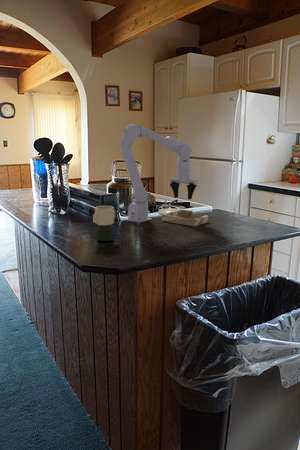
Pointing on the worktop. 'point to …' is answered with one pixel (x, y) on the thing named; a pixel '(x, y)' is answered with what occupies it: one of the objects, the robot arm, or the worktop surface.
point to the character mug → (104, 222)
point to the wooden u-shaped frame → (183, 219)
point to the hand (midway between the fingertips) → (182, 198)
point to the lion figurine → (151, 199)
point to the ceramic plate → (168, 210)
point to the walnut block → (185, 213)
